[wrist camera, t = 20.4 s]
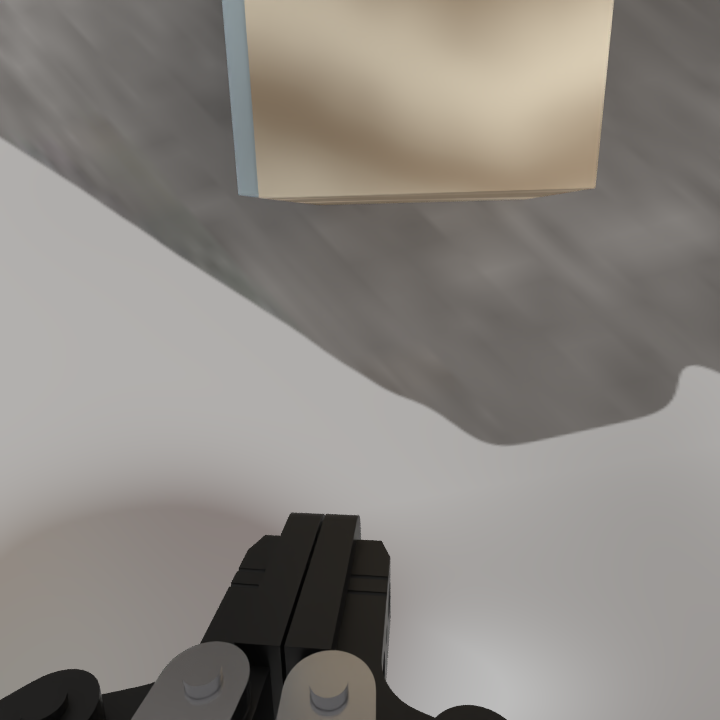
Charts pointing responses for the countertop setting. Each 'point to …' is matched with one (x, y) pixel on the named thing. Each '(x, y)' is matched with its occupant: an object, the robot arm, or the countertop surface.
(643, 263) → the countertop surface
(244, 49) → the drawer
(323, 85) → the cabinet
